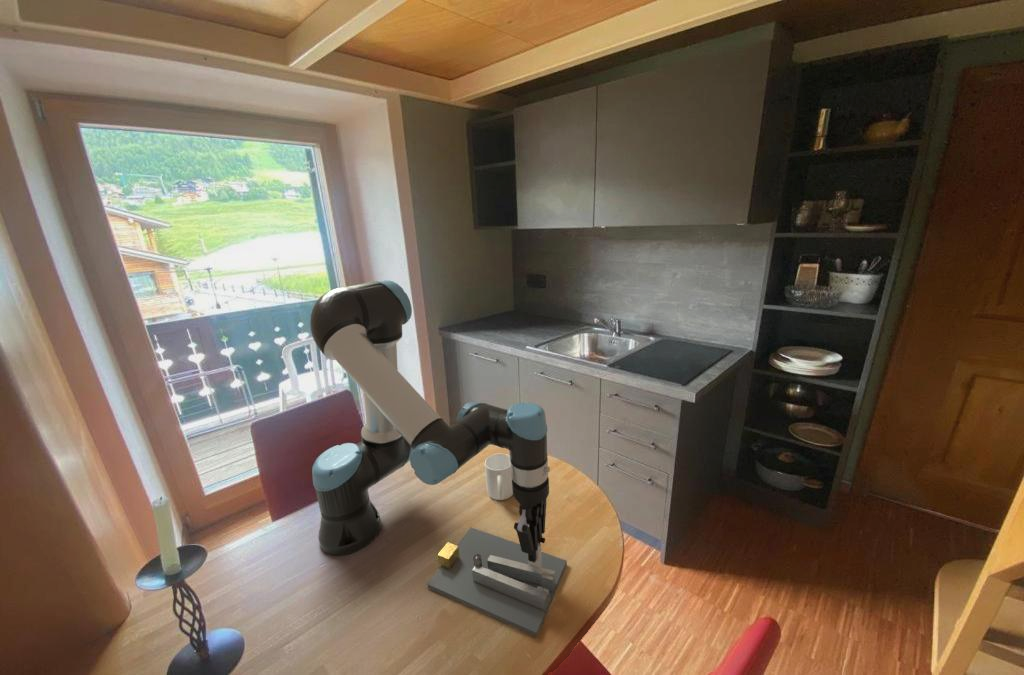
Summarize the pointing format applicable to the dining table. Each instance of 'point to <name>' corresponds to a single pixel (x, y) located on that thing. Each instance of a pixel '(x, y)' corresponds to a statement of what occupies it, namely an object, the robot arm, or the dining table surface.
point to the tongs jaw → (522, 571)
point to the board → (486, 599)
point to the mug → (498, 476)
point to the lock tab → (448, 555)
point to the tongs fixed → (509, 585)
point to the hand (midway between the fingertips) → (535, 567)
